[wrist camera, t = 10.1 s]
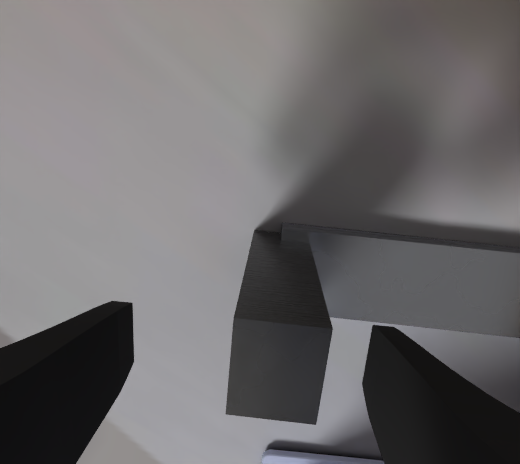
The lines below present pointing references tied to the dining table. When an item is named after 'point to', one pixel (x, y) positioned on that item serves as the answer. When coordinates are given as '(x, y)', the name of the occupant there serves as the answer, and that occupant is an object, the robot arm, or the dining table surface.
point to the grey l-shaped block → (352, 304)
